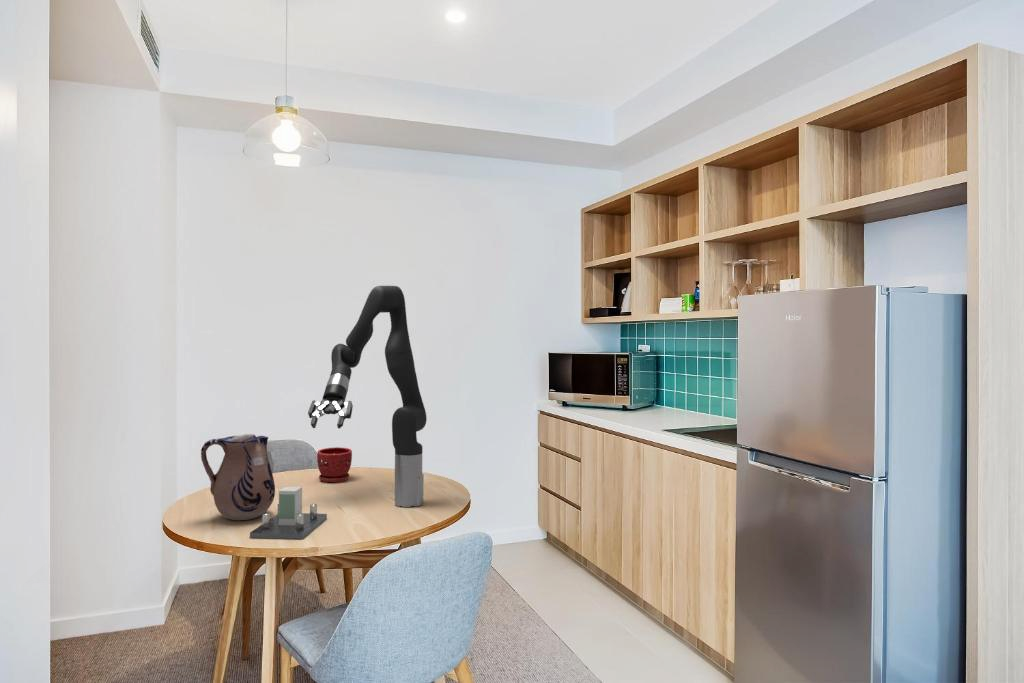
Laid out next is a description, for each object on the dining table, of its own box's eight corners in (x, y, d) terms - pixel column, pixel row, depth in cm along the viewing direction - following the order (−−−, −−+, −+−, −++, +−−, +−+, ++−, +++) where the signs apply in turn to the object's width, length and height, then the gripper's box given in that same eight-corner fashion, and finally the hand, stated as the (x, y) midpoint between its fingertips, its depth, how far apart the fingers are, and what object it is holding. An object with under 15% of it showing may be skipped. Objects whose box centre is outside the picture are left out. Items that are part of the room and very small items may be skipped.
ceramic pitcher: (279, 520, 193) (279, 438, 193) (202, 530, 183) (203, 444, 183) (270, 506, 209) (270, 431, 208) (199, 515, 198) (199, 435, 198)
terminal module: (301, 520, 188) (302, 487, 188) (295, 525, 183) (295, 491, 183) (285, 520, 188) (285, 486, 188) (278, 525, 183) (278, 491, 183)
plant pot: (310, 481, 245) (310, 450, 245) (336, 475, 256) (337, 446, 256) (332, 486, 238) (332, 454, 238) (358, 479, 249) (359, 449, 249)
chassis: (326, 518, 195) (326, 501, 195) (302, 539, 175) (302, 519, 175) (279, 517, 196) (279, 499, 196) (249, 538, 176) (249, 518, 176)
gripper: (313, 382, 219) (302, 419, 208) (354, 382, 219) (344, 420, 207) (318, 396, 224) (307, 433, 213) (358, 396, 224) (349, 433, 213)
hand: (326, 426), depth 210 cm, fingers open, 8 cm apart
